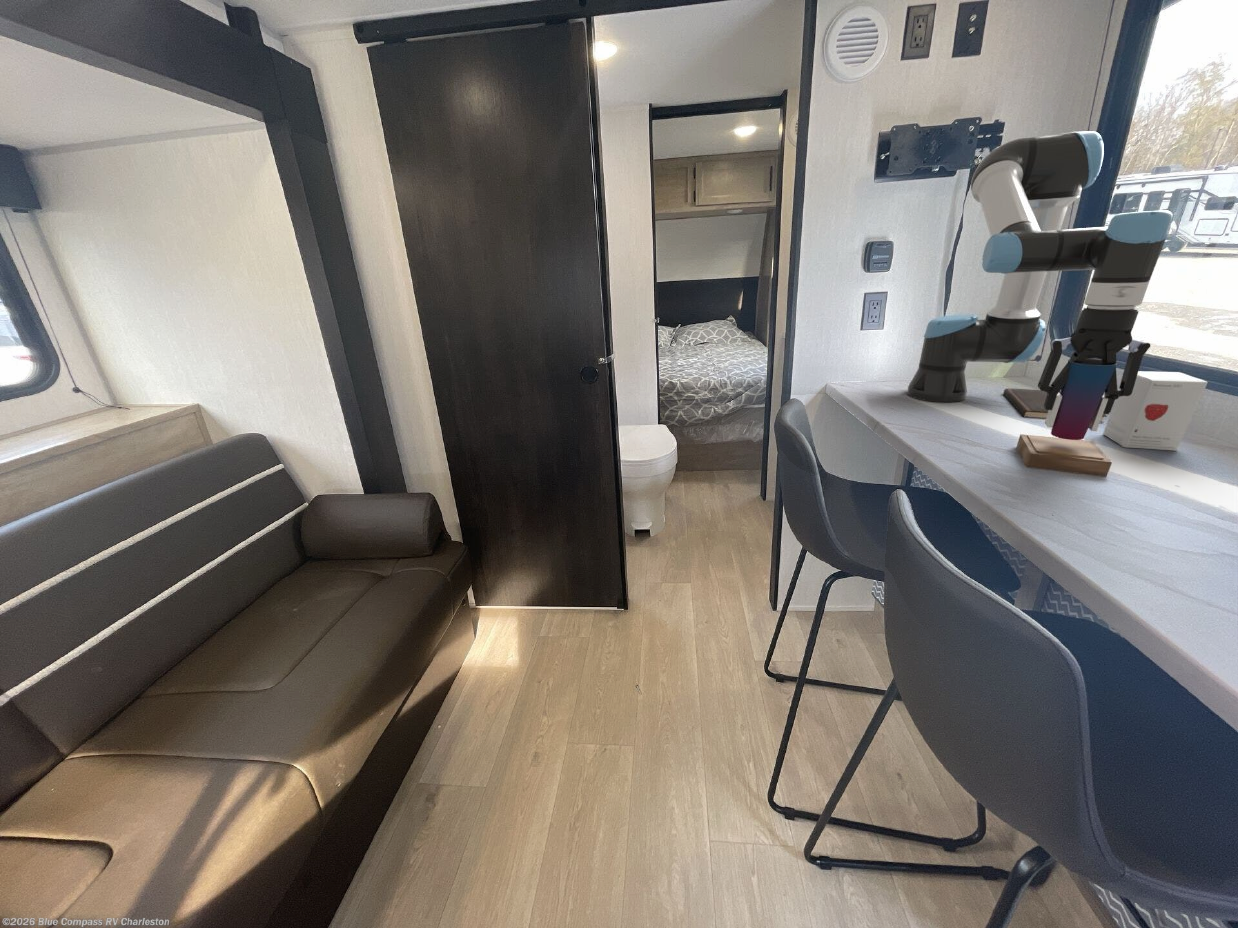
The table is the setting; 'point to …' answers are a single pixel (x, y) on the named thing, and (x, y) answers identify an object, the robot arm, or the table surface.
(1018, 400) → the hardcover book
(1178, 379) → the supplement box
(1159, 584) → the table surface
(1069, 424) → the cup
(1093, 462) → the pedestal
